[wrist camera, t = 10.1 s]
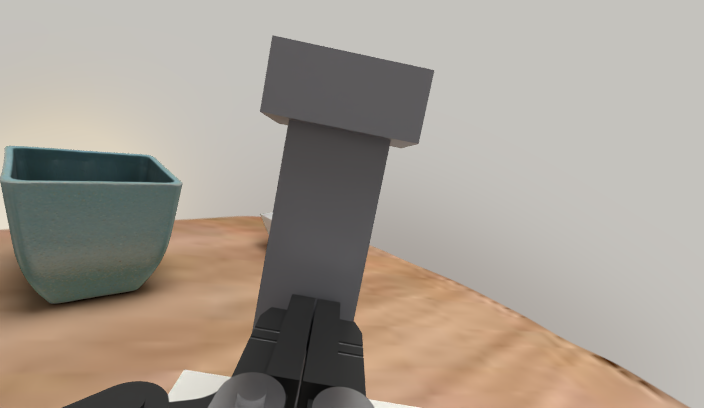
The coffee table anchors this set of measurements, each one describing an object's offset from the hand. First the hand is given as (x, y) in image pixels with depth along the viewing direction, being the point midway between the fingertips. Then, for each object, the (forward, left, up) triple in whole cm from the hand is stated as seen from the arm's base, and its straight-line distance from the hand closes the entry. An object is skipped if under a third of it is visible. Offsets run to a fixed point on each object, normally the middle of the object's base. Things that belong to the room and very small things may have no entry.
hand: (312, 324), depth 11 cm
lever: (0, 0, -6) cm, 6 cm away
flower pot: (-16, +14, -9) cm, 23 cm away
